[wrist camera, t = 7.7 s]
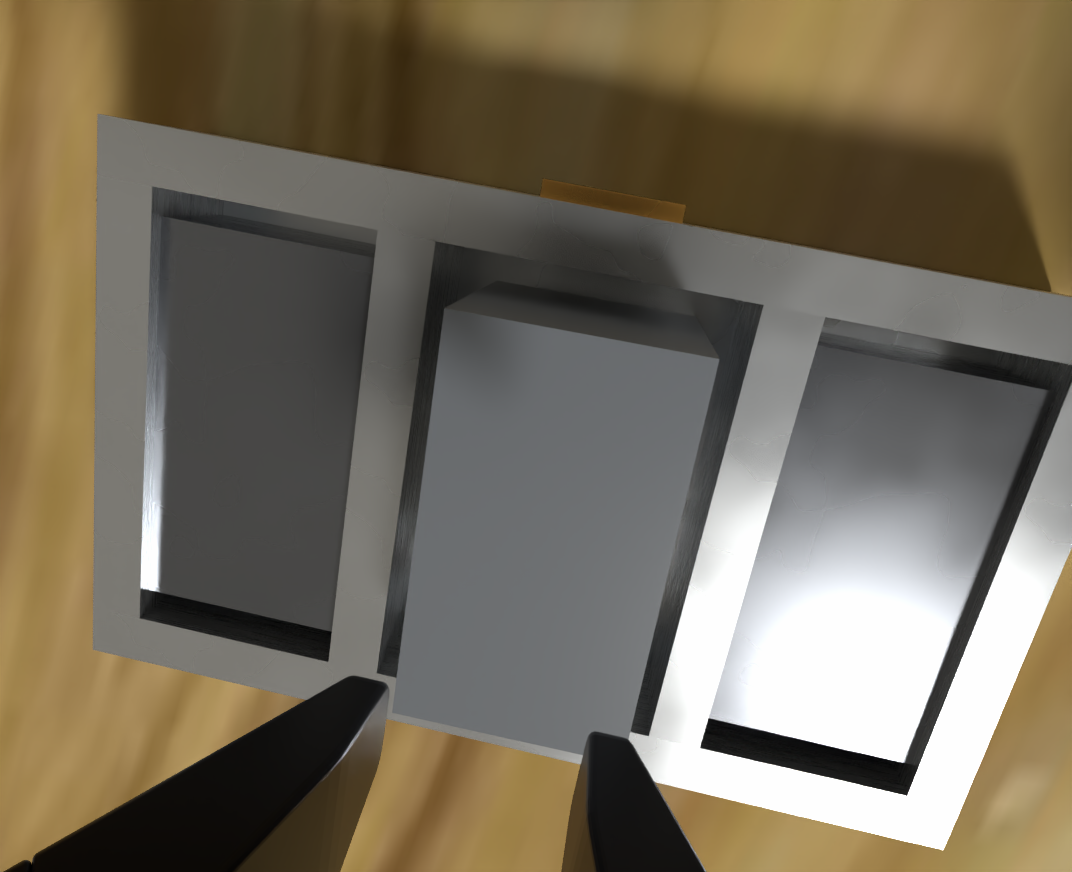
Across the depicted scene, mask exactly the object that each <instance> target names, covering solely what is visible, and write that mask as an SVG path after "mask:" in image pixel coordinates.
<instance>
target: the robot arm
mask: <svg viewBox="0 0 1072 872" xmlns="http://www.w3.org/2000/svg"><path fill="white" fill-rule="evenodd" d="M388 703H389V687H388V685H387V684H386V683H385V682H382V681H377V680H373V679H369V678H365V677H360V676H355V675H352V676H348V677H346V678H344V679H342V680H341V681H339V682H337V683H335V684H333V685H332V686H330V687H328V688H326V689H325V690H323V691H321V692H319V693H318V694H316V695H314V696H312V697H311V698H309V699H307V700H305V701H304V702H302V703H300V704H298V705H297V706H295V707H293V708H291V709H289V710H288V711H286V712H284V713H282V714H281V715H279V716H277V717H275V718H274V719H272V720H270V721H268V722H267V723H265V724H263V725H261V726H260V727H258V728H256V729H254V730H253V731H251V732H249V733H247V734H246V735H244V736H242V737H240V738H238V739H237V740H235V741H233V742H231V743H230V744H228V745H226V746H224V747H223V748H221V749H219V750H217V751H216V752H214V753H212V754H210V755H209V756H207V757H205V758H203V759H202V760H200V761H198V762H196V763H194V764H193V765H191V766H189V767H187V768H186V769H184V770H182V771H180V772H179V773H177V774H175V775H173V776H172V777H170V778H168V779H166V780H165V781H163V782H161V783H159V784H158V785H156V786H154V787H152V788H150V789H149V790H147V791H145V792H143V793H142V794H140V795H138V796H136V797H135V798H133V799H131V800H129V801H128V802H126V803H124V804H122V805H121V806H119V807H117V808H115V809H114V810H112V811H110V812H108V813H106V814H105V815H103V816H101V817H99V818H98V819H96V820H94V821H92V822H91V823H89V824H87V825H85V826H84V827H82V828H80V829H78V830H77V831H75V832H73V833H71V834H70V835H68V836H66V837H64V838H62V839H61V840H59V841H57V842H55V843H54V844H52V845H50V846H48V847H47V848H45V849H43V850H41V851H40V852H38V853H36V854H35V855H34V857H33V860H32V865H31V862H30V861H28V860H24V861H21V862H20V863H18V864H16V865H14V866H13V867H11V868H9V869H7V870H5V871H4V872H340V870H341V868H342V865H343V862H344V859H345V857H346V854H347V851H348V848H349V846H350V843H351V840H352V837H353V835H354V832H355V829H356V826H357V824H358V821H359V818H360V815H361V813H362V810H363V807H364V804H365V801H366V799H367V796H368V793H369V790H370V788H371V785H372V782H373V779H374V777H375V774H376V771H377V768H378V764H379V760H380V756H381V751H382V745H383V738H384V731H385V724H386V717H387V710H388ZM561 872H706V870H705V869H704V867H703V865H702V863H701V862H700V860H699V858H698V856H697V855H696V853H695V851H694V849H693V848H692V846H691V844H690V842H689V841H688V839H687V837H686V836H685V834H684V832H683V830H682V829H681V827H680V825H679V823H678V822H677V820H676V818H675V816H674V815H673V813H672V811H671V810H670V808H669V806H668V804H667V803H666V801H665V799H664V797H663V796H662V794H661V792H660V790H659V789H658V787H657V785H656V784H655V782H654V780H653V778H652V777H651V775H650V773H649V771H648V770H647V768H646V766H645V764H644V763H643V761H642V759H641V758H640V756H639V754H638V752H637V751H636V749H635V747H634V745H633V744H632V742H631V741H630V740H628V739H627V738H624V737H620V736H615V735H611V734H606V733H602V732H598V731H593V732H591V733H590V734H589V736H588V738H587V741H586V745H585V749H584V753H583V757H582V761H581V766H580V770H579V774H578V778H577V782H576V787H575V791H574V795H573V800H572V804H571V810H570V816H569V822H568V829H567V836H566V843H565V850H564V857H563V864H562V871H561Z"/></svg>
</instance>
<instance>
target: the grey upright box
mask: <svg viewBox="0 0 1072 872" xmlns="http://www.w3.org/2000/svg"><path fill="white" fill-rule="evenodd" d="M719 360H720V359H719V357H718V355H717V354H716V352H715V350H714V348H713V346H712V345H711V343H710V341H709V339H708V337H707V336H706V334H705V332H704V330H703V328H702V327H701V325H700V323H699V321H698V319H697V318H696V316H690V315H685V314H679V313H674V312H668V311H663V310H657V309H652V308H646V307H641V306H635V305H630V304H624V303H619V302H613V301H608V300H602V299H597V298H591V297H586V296H580V295H575V294H569V293H563V292H558V291H552V290H547V289H541V288H536V287H530V286H525V285H519V284H514V283H508V282H503V281H495V282H493V283H491V284H489V285H487V286H485V287H483V288H481V289H480V290H478V291H476V292H474V293H472V294H470V295H468V296H466V297H464V298H463V299H461V300H459V301H457V302H455V303H453V304H451V305H449V306H448V307H446V308H444V315H443V322H442V330H441V338H440V346H439V353H438V361H437V369H436V376H435V384H434V392H433V400H432V407H431V415H430V423H429V431H428V438H427V446H426V454H425V462H424V469H423V477H422V485H421V492H420V500H419V508H418V516H417V523H416V531H415V539H414V547H413V554H412V562H411V570H410V578H409V585H408V593H407V601H406V608H405V616H404V624H403V632H402V639H401V647H400V655H399V663H398V670H397V678H396V686H395V694H394V701H393V709H392V713H395V714H400V715H404V716H409V717H413V718H418V719H422V720H427V721H431V722H436V723H440V724H445V725H449V726H454V727H458V728H463V729H467V730H472V731H476V732H481V733H485V734H490V735H494V736H499V737H503V738H508V739H512V740H517V741H521V742H526V743H530V744H535V745H539V746H544V747H548V748H553V749H557V750H561V751H566V752H570V753H575V754H579V755H583V753H584V749H585V745H586V741H587V738H588V736H589V734H590V733H591V732H593V731H598V732H602V733H606V734H611V735H615V736H620V737H624V738H627V739H629V735H630V731H631V727H632V723H633V718H634V714H635V710H636V706H637V702H638V698H639V693H640V689H641V685H642V681H643V677H644V673H645V668H646V664H647V660H648V656H649V652H650V648H651V643H652V639H653V635H654V631H655V627H656V623H657V618H658V614H659V610H660V606H661V602H662V597H663V593H664V589H665V585H666V581H667V577H668V572H669V568H670V564H671V560H672V556H673V552H674V547H675V543H676V539H677V535H678V531H679V527H680V522H681V518H682V514H683V510H684V506H685V502H686V497H687V493H688V489H689V485H690V481H691V477H692V472H693V468H694V464H695V460H696V456H697V452H698V447H699V443H700V439H701V435H702V431H703V426H704V422H705V418H706V414H707V410H708V406H709V401H710V397H711V393H712V389H713V385H714V381H715V376H716V372H717V368H718V364H719Z"/></svg>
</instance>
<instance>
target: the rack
mask: <svg viewBox="0 0 1072 872" xmlns="http://www.w3.org/2000/svg"><path fill="white" fill-rule="evenodd" d="M685 209H686V205H683V204H677V203H672V202H667V201H661V200H656V199H651V198H645V197H640V196H635V195H629V194H624V193H618V192H613V191H608V190H602V189H597V188H592V187H586V186H581V185H576V184H570V183H565V182H560V181H554V180H549V179H544V178H543V181H542V187H541V193H540V196H539V195H534V194H529V193H523V192H518V191H513V190H507V189H502V188H497V187H492V186H486V185H481V184H476V183H470V182H465V181H460V180H454V179H449V178H444V177H439V176H433V175H428V174H423V173H417V172H412V171H407V170H401V169H396V168H391V167H385V166H380V165H375V164H370V163H364V162H359V161H354V160H348V159H343V158H338V157H332V156H327V155H322V154H317V153H311V152H306V151H301V150H295V149H290V148H285V147H279V146H274V145H269V144H264V143H258V142H253V141H248V140H242V139H237V138H232V137H226V136H221V135H216V134H210V133H205V132H199V131H194V130H188V129H182V128H176V127H171V126H165V125H159V124H153V123H147V122H142V121H136V120H130V119H124V118H119V117H113V116H107V115H101V114H98V127H97V241H96V355H95V469H94V583H93V650H97V651H101V652H105V653H109V654H114V655H118V656H122V657H126V658H131V659H135V660H139V661H143V662H148V663H152V664H156V665H160V666H165V667H169V668H173V669H177V670H182V671H186V672H190V673H194V674H199V675H203V676H207V677H211V678H216V679H220V680H224V681H228V682H233V683H237V684H241V685H245V686H250V687H254V688H258V689H262V690H267V691H271V692H275V693H279V694H284V695H288V696H292V697H296V698H301V699H305V700H307V699H309V698H311V697H312V696H314V695H316V694H318V693H319V692H321V691H323V690H325V689H326V688H328V687H330V686H332V685H333V684H335V683H337V682H339V681H341V680H342V679H344V678H346V677H348V676H352V675H355V676H360V677H365V678H369V679H373V680H377V681H382V682H385V683H386V684H387V685H388V687H389V703H388V710H387V717H386V719H390V720H394V721H398V722H402V723H407V724H411V725H415V726H419V727H424V728H428V729H432V730H436V731H441V732H445V733H449V734H453V735H458V736H462V737H466V738H470V739H475V740H479V741H483V742H487V743H492V744H496V745H500V746H504V747H509V748H513V749H517V750H521V751H526V752H530V753H534V754H538V755H543V756H547V757H551V758H555V759H560V760H564V761H568V762H572V763H577V764H581V761H582V757H583V755H579V754H575V753H570V752H566V751H561V750H557V749H553V748H548V747H544V746H539V745H535V744H530V743H526V742H521V741H517V740H512V739H508V738H503V737H499V736H494V735H490V734H485V733H481V732H476V731H472V730H467V729H463V728H458V727H454V726H449V725H445V724H440V723H436V722H431V721H427V720H422V719H418V718H413V717H409V716H404V715H400V714H395V713H392V709H393V701H394V694H395V686H396V678H397V670H398V663H399V655H400V647H401V639H402V632H403V624H404V616H405V608H406V601H407V593H408V585H409V578H410V570H411V562H412V554H413V547H414V539H415V531H416V523H417V516H418V508H419V500H420V492H421V485H422V477H423V469H424V462H425V454H426V446H427V438H428V431H429V423H430V415H431V407H432V400H433V392H434V384H435V376H436V369H437V361H438V353H439V346H440V338H441V330H442V322H443V315H444V308H446V307H448V306H449V305H451V304H453V303H455V302H457V301H459V300H461V299H463V298H464V297H466V296H468V295H470V294H472V293H474V292H476V291H478V290H480V289H481V288H483V287H485V286H487V285H489V284H491V283H493V282H495V281H503V282H508V283H514V284H519V285H525V286H530V287H536V288H541V289H547V290H552V291H558V292H563V293H569V294H575V295H580V296H586V297H591V298H597V299H602V300H608V301H613V302H619V303H624V304H630V305H635V306H641V307H646V308H652V309H657V310H663V311H668V312H674V313H679V314H685V315H690V316H696V318H697V319H698V321H699V323H700V325H701V327H702V328H703V330H704V332H705V334H706V336H707V337H708V339H709V341H710V343H711V345H712V346H713V348H714V350H715V352H716V354H717V355H718V357H719V359H720V360H719V364H718V368H717V372H716V376H715V381H714V385H713V389H712V393H711V397H710V401H709V406H708V410H707V414H706V418H705V422H704V426H703V431H702V435H701V439H700V443H699V447H698V452H697V456H696V460H695V464H694V468H693V472H692V477H691V481H690V485H689V489H688V493H687V497H686V502H685V506H684V510H683V514H682V518H681V522H680V527H679V531H678V535H677V539H676V543H675V547H674V552H673V556H672V560H671V564H670V568H669V572H668V577H667V581H666V585H665V589H664V593H663V597H662V602H661V606H660V610H659V614H658V618H657V623H656V627H655V631H654V635H653V639H652V643H651V648H650V652H649V656H648V660H647V664H646V668H645V673H644V677H643V681H642V685H641V689H640V693H639V698H638V702H637V706H636V710H635V714H634V718H633V723H632V727H631V731H630V735H629V739H628V740H630V741H631V742H632V744H633V745H634V747H635V749H636V751H637V752H638V754H639V756H640V758H641V759H642V761H643V763H644V764H645V766H646V768H647V770H648V771H649V773H650V775H651V777H652V778H653V780H654V782H657V783H662V784H666V785H670V786H674V787H679V788H683V789H687V790H691V791H696V792H700V793H704V794H708V795H713V796H717V797H721V798H725V799H729V800H734V801H738V802H742V803H746V804H751V805H755V806H759V807H763V808H768V809H772V810H776V811H780V812H785V813H789V814H793V815H797V816H802V817H806V818H810V819H814V820H819V821H823V822H827V823H831V824H836V825H840V826H844V827H848V828H853V829H857V830H861V831H865V832H870V833H874V834H878V835H882V836H887V837H891V838H895V839H899V840H904V841H908V842H912V843H916V844H921V845H925V846H929V847H933V848H938V849H942V850H943V849H944V846H945V844H946V842H947V839H948V837H949V835H950V832H951V830H952V828H953V825H954V823H955V821H956V818H957V816H958V814H959V811H960V809H961V806H962V804H963V802H964V799H965V797H966V795H967V792H968V790H969V788H970V785H971V783H972V781H973V778H974V776H975V774H976V771H977V769H978V766H979V764H980V762H981V759H982V757H983V755H984V752H985V750H986V748H987V745H988V743H989V741H990V738H991V736H992V733H993V731H994V729H995V726H996V724H997V722H998V719H999V717H1000V715H1001V712H1002V710H1003V708H1004V705H1005V703H1006V701H1007V698H1008V696H1009V693H1010V691H1011V689H1012V686H1013V684H1014V682H1015V679H1016V677H1017V675H1018V672H1019V670H1020V668H1021V665H1022V663H1023V661H1024V658H1025V656H1026V653H1027V651H1028V649H1029V646H1030V644H1031V642H1032V639H1033V637H1034V635H1035V632H1036V630H1037V628H1038V625H1039V623H1040V621H1041V618H1042V616H1043V613H1044V611H1045V609H1046V606H1047V604H1048V602H1049V599H1050V597H1051V595H1052V592H1053V590H1054V588H1055V585H1056V583H1057V581H1058V578H1059V576H1060V573H1061V571H1062V569H1063V566H1064V564H1065V562H1066V559H1067V557H1068V555H1069V552H1070V550H1071V548H1072V296H1068V295H1063V294H1059V293H1054V292H1048V291H1043V290H1038V289H1032V288H1027V287H1022V286H1017V285H1011V284H1006V283H1001V282H995V281H990V280H985V279H979V278H974V277H969V276H964V275H958V274H953V273H948V272H942V271H937V270H932V269H926V268H921V267H916V266H910V265H905V264H900V263H895V262H889V261H884V260H879V259H873V258H868V257H863V256H857V255H852V254H847V253H842V252H836V251H831V250H826V249H820V248H815V247H810V246H804V245H799V244H794V243H789V242H783V241H778V240H773V239H767V238H762V237H757V236H751V235H746V234H741V233H735V232H730V231H725V230H720V229H714V228H709V227H704V226H698V225H693V224H688V223H683V218H684V214H685Z"/></svg>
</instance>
